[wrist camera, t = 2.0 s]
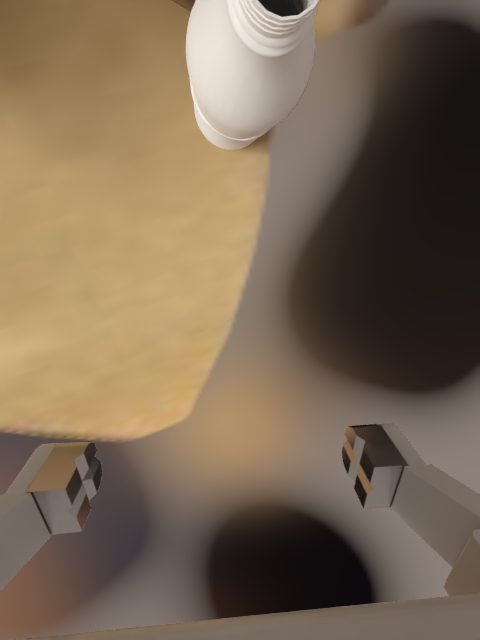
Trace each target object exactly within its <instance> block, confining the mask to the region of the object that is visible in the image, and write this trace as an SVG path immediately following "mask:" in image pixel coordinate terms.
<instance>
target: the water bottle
mask: <svg viewBox="0 0 480 640" xmlns="http://www.w3.org/2000/svg"><path fill="white" fill-rule="evenodd" d="M320 2H321V0H196V1H195V3H194V6H193V8H192V10H191V14H190V18H189V22H188V26H187V35H186V60H187V68H188V72H189V76H190V86H191V93H192V98H193V101H194V111H195V116H196V120H197V123H198V126H199V128H200V130H201V132H202V133H203V135H204V136H205V137H206V138H207V140H208V141H210V142H211V143H212V144H213V145H215V146H217V147H219V148H221V149H225V150H239V149H242V148H245V147H247V146H248V145H250V144H251V143H252V142H254V141H255V140H256V139H257V138H258V137H260V136H262V135H263V134H265V133H266V132H267V131H268V130H269V129H271V128H272V127H273V126H274V125H276V124H278V123H280V122H281V121H282V120H283V119H284V118H285V117H286V116H288V114H289V113H290V112H291V111H292V110H293V109H294V107H295V106H296V105H297V103H298V101H299V100H300V99H301V97H302V95H303V93H304V91H305V89H306V87H307V84H308V80H309V77H310V74H311V71H312V67H313V61H314V56H315V29H314V20H315V16H316V13H317V8H318V5H319V4H320Z"/></svg>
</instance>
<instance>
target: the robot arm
mask: <svg viewBox="0 0 480 640" xmlns="http://www.w3.org/2000/svg"><path fill="white" fill-rule="evenodd" d="M345 436H346V438H347V441H346V442H345V443H344V444H343V448H342V458H343V463H344V466H345V469H346V472H347V474H348V475H349V476H350V477H351V478H353V479H354V480H355V485H354V489H355V492H356V494H357V496H358V498H359V500H360V502H361V505H362V507H363V509H370V508H371V509H372V508H391V510H392V511H393V512H394V513H395V514H396V515H397V516H399V517H400V518H401V519H402V520H403V521H404V522H405V523H406V524H407V525H408V526H409V527H410V528H411V529H413V531H414V532H416V533H417V534H418V535H419V536H420V537H421V538H422V539H423V540H424V541H425V542H426V543H427V544H428V545H430V547H432V548H433V549H434V550H435V551H436V552H437V553H438V554H439V555H440V556H441V557H442V558H443V559H444V560H445V561H446V562H447V563H449V564H450V565H451V566H452V567H453V568H452V570H451V572H450V574H449V576H448V578H447V579H446V582H445V586H444V588H445V589H446V591H447V593H448V595H449V596H445V597H436V598H425V599H416V600H405V601H395V602H385V603H375V604H365V605H355V606H345V607H335V608H325V609H315V610H305V611H295V612H285V613H275V614H265V615H255V616H245V617H235V618H225V619H215V620H205V621H195V622H185V623H176V624H165V625H155V626H145V627H135V628H125V629H115V630H105V631H95V632H85V633H75V634H65V635H56V636H47V637H46V636H45V637H35V638H25V639H17V640H480V494H478V493H477V492H475V491H474V490H472V489H470V488H469V487H467V486H465V485H464V484H462V483H461V482H459V481H457V480H456V479H454V478H453V477H451V476H449V475H448V474H446V473H444V472H443V471H441V470H440V469H438V468H436V467H435V466H433V465H431V464H430V465H427V464H426V463H425V462H424V460H423V459H422V458H421V457H420V455H419V454H418V452H417V451H416V450H415V449H414V447H413V446H412V445H411V443H410V442H409V441H408V439H407V438H406V437H405V435H404V434H403V433H402V431H401V430H400V429H399V427H398V426H397V425H396V424H394V423H383V424H369V425H355V426H348V427H347V428H346V432H345ZM96 451H97V449H96V446H95V443H93V442H80V443H59V444H42V445H40V446H39V447H38V448H36V450H35V451H34V453H33V454H32V456H31V457H30V458H29V460H28V461H27V463H26V464H25V466H24V467H23V469H22V470H21V472H20V473H19V474H18V476H17V477H16V479H15V480H14V482H13V483H12V484H11V486H10V487H9V489H8V490H7V492H6V493H5V495H0V591H1V590H2V589H3V588H4V587H5V586H6V585H7V584H8V583H9V581H11V579H12V578H13V577H14V576H15V575H16V574H17V573H18V572H19V571H20V569H22V567H23V566H24V565H25V564H26V563H27V562H28V561H29V560H30V559H31V558H32V557H33V556H34V554H35V553H36V552H37V551H38V550H39V549H40V548H41V547H42V546H43V544H44V543H45V542H46V541H47V540H48V539H49V538H50V537H51V535H52V534H62V533H71V532H80V531H82V530H83V527H84V525H85V522H86V520H87V517H88V515H89V512H90V510H91V506H90V503H89V500H90V499H91V498H92V497H93V496H94V495H95V494H96V493H97V492H98V489H99V486H100V483H101V477H102V465H101V462H100V460H99V459H97V458H96V457H95V454H96ZM15 640H16V639H15Z"/></svg>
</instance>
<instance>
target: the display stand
mask: <svg viewBox="0 0 480 640" xmlns="http://www.w3.org/2000/svg"><path fill="white" fill-rule="evenodd" d="M172 1H174V2H176V3H177V4H179V5H181V6H182V7H184V8H186V9H188V10H189V11H191V10H192V8H193V6H194V3H195V1H196V0H172Z"/></svg>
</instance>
